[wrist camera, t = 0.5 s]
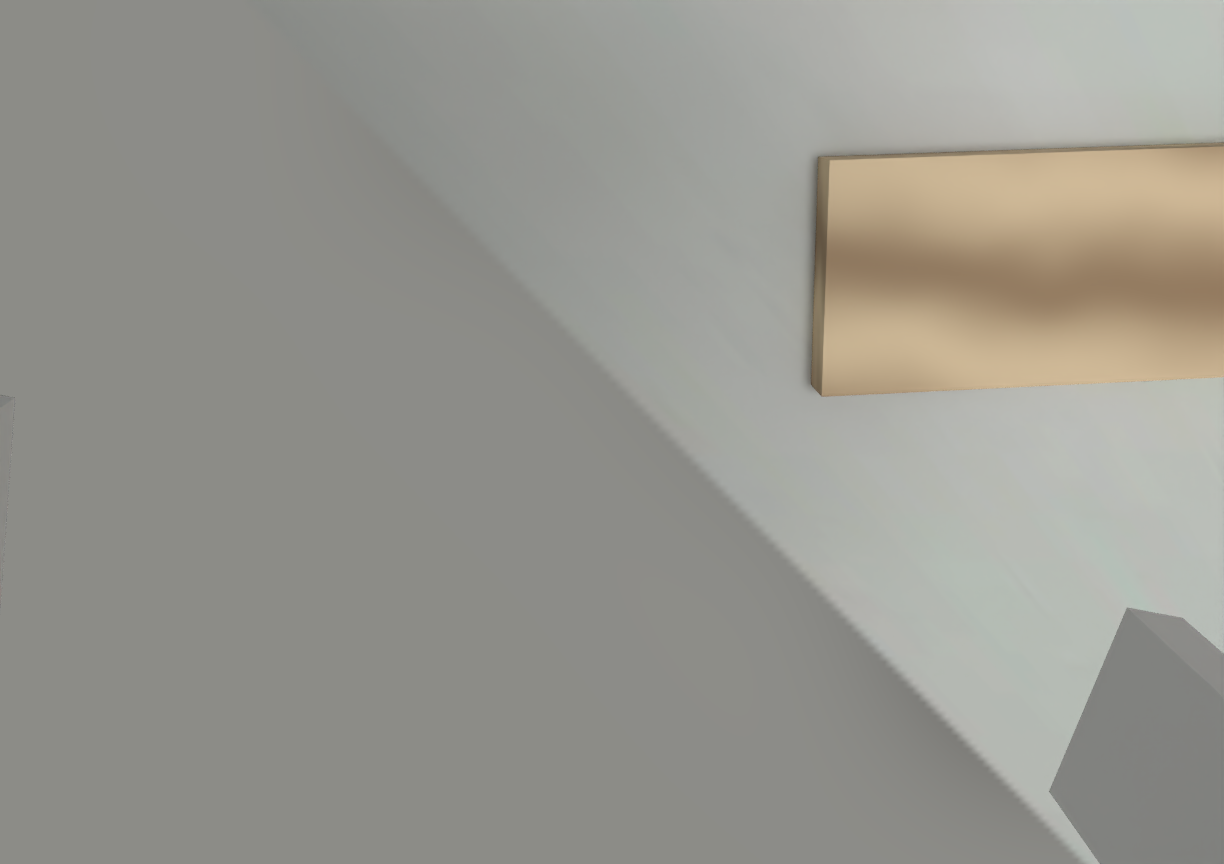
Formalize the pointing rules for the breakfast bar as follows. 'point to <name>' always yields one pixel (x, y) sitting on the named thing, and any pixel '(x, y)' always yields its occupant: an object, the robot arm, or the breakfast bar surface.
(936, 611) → the breakfast bar surface
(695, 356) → the breakfast bar surface
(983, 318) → the oak board
